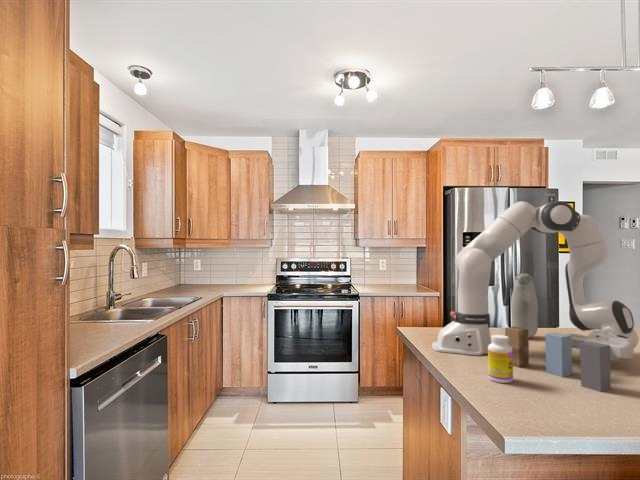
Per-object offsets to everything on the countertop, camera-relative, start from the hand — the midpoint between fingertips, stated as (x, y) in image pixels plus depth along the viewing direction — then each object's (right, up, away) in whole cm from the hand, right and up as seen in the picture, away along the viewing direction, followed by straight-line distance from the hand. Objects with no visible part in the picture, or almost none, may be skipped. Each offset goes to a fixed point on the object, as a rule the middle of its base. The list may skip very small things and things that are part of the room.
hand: (579, 347), depth 124 cm
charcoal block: (-7, -6, -18) cm, 20 cm away
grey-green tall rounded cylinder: (+5, -8, +42) cm, 43 cm away
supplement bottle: (-31, -7, -11) cm, 34 cm away
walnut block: (-18, -7, +4) cm, 20 cm away
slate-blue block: (-10, -6, -6) cm, 13 cm away
